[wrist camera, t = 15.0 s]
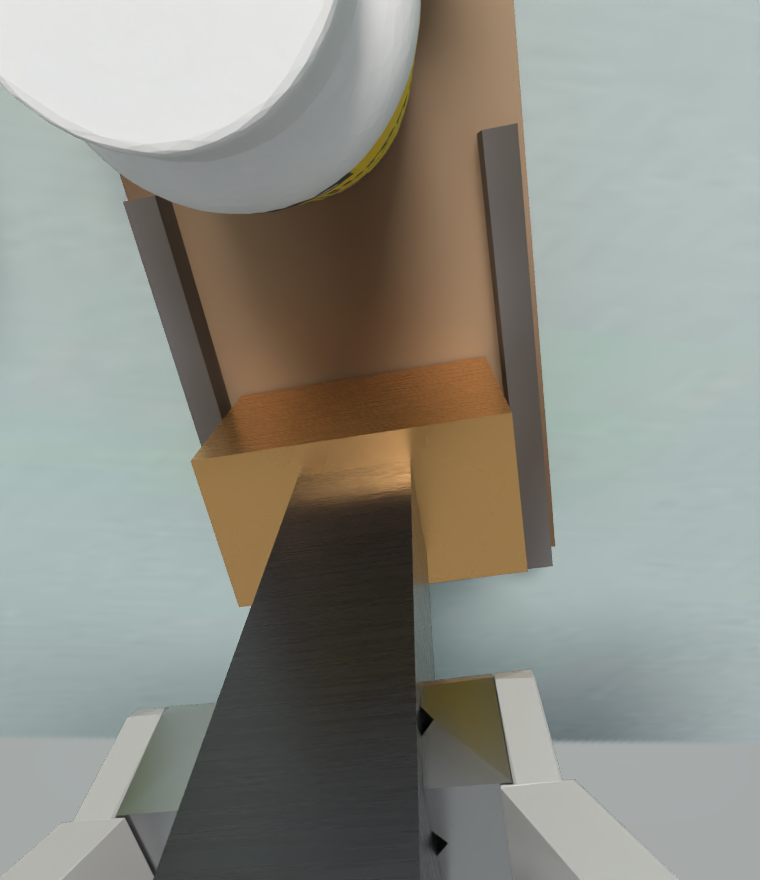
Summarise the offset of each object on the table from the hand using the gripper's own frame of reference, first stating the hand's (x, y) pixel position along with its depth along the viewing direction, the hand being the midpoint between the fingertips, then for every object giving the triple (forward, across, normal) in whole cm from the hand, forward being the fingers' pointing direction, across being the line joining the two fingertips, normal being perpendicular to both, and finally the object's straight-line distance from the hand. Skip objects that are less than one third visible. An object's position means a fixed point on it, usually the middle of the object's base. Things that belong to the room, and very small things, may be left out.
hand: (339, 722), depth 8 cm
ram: (+10, 0, 0) cm, 10 cm away
